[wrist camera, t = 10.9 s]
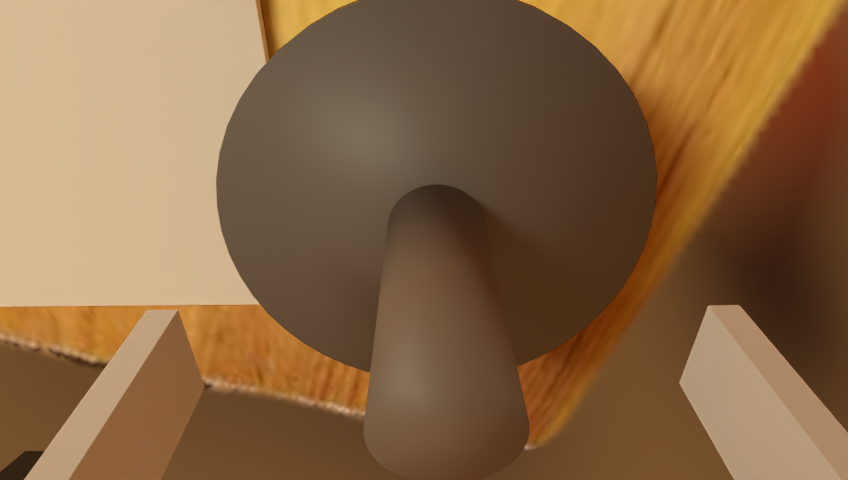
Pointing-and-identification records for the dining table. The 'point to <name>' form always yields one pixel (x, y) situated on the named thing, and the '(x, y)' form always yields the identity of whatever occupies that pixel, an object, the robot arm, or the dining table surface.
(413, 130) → the lid
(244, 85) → the mat
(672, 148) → the dining table surface
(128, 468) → the robot arm
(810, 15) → the dining table surface
